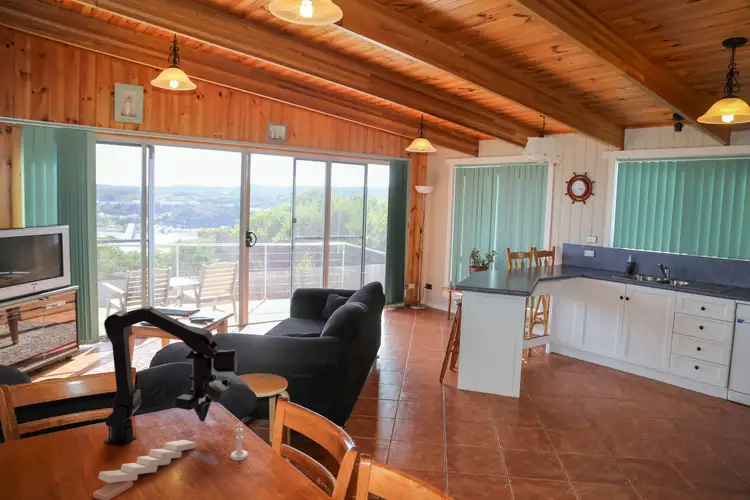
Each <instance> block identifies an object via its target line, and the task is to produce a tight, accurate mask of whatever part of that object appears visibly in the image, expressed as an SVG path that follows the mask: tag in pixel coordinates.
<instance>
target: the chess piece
mask: <svg viewBox="0 0 750 500" xmlns="http://www.w3.org/2000/svg"><path fill="white" fill-rule="evenodd" d="M243 426H244V425H243V424H241V422H239V423H238V424H236V429H235V433H236V436H235V440H237V443H236V450H235V451H233V452H231V454H230V459H231V460H233V461H243V460H245V459H247V458H248V457H249V452H248V451H246V450H244V449H243V445H242V440H243V439H244V436H243V435H242V434H243V432H244V429H243ZM237 427H238V428H237Z"/></svg>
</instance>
